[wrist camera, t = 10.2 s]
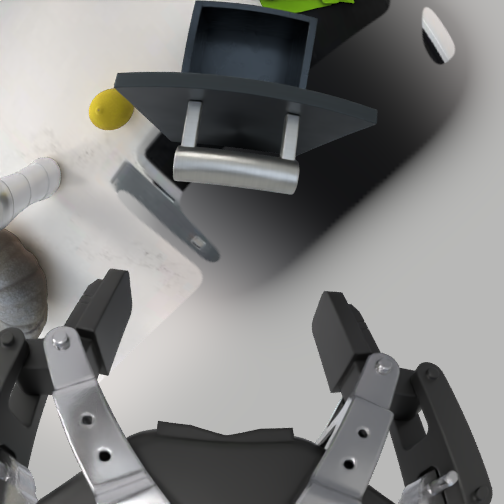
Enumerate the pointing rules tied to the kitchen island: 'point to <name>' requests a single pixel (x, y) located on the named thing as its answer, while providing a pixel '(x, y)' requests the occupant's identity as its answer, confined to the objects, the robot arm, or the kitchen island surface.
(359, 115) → the caddy lid
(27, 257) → the gourd
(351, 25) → the kitchen island surface
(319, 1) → the cloth
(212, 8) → the box
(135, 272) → the kitchen island surface
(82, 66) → the kitchen island surface
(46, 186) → the silver bottle
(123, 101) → the lemon
